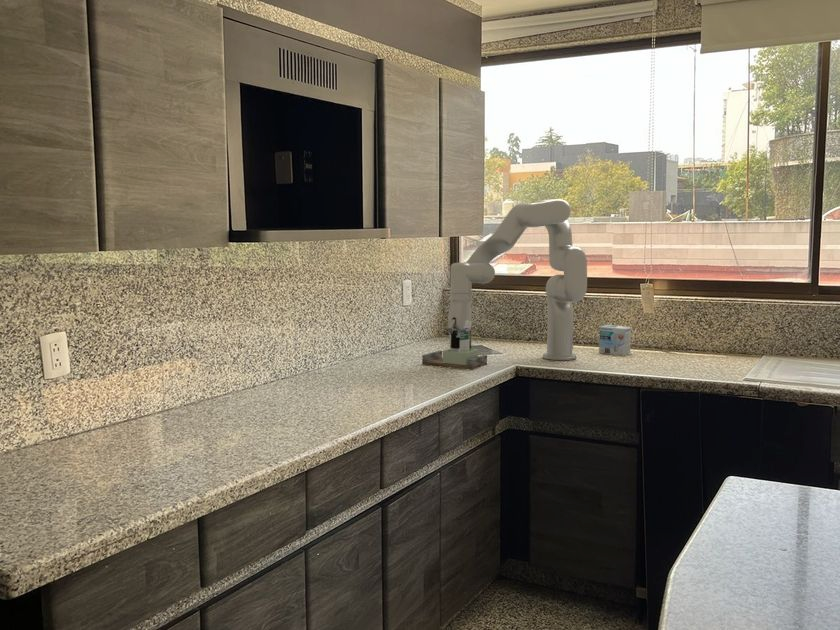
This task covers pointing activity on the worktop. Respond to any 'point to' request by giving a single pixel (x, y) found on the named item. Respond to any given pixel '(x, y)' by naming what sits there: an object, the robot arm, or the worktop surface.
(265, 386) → the worktop surface
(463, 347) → the syrup box
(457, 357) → the collar
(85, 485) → the worktop surface
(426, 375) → the worktop surface
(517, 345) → the worktop surface
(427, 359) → the grey brown tray
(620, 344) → the light bulb box
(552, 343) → the robot arm
